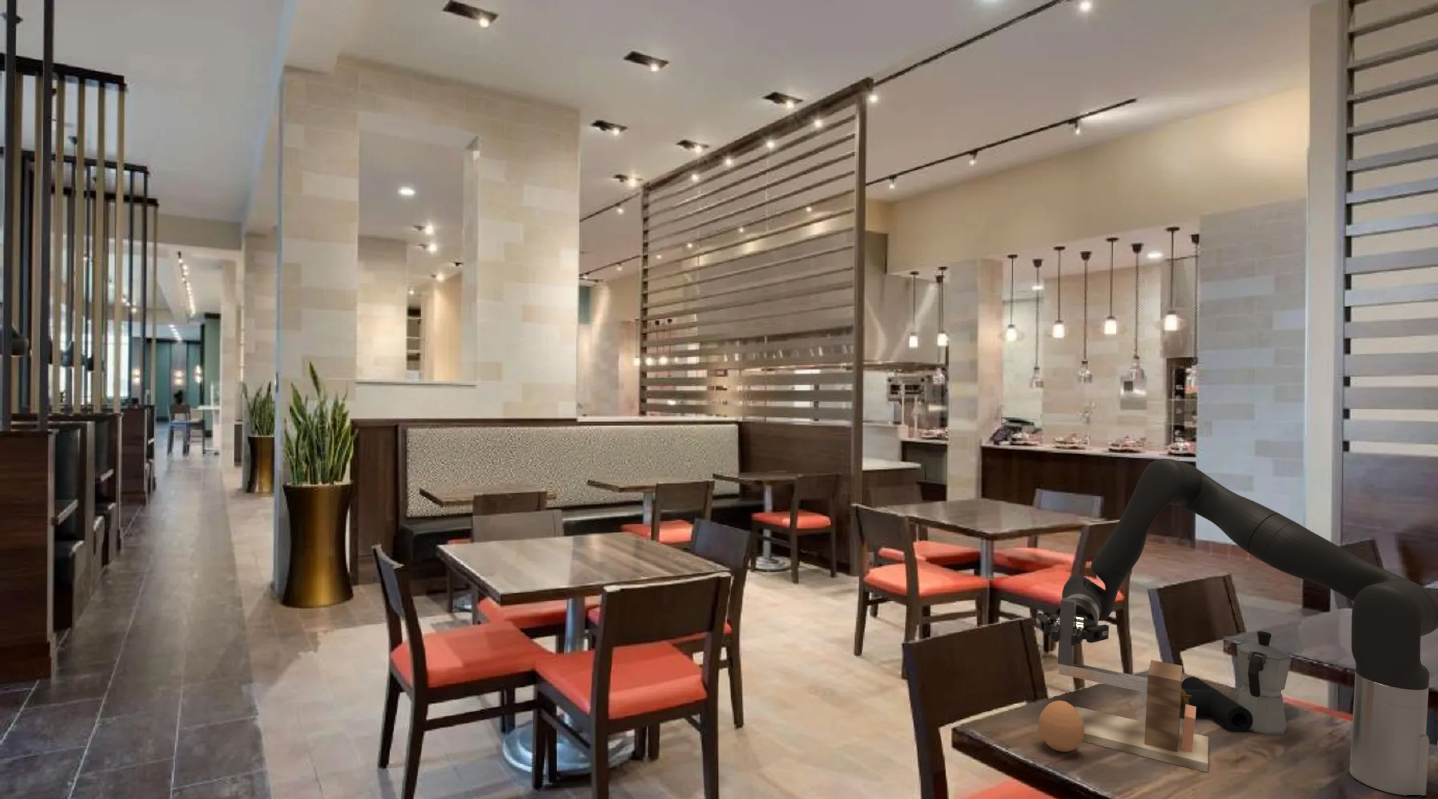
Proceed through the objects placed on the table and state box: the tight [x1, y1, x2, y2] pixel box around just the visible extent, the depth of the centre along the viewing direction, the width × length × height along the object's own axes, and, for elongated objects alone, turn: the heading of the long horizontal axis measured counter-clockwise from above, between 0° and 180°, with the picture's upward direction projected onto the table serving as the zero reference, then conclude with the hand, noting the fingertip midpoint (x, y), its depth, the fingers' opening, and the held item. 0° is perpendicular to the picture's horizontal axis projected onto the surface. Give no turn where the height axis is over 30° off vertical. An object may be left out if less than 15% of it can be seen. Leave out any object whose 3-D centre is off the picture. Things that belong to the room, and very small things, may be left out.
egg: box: [1038, 700, 1084, 753], centre depth 138 cm, size 7×7×8 cm
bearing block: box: [1074, 659, 1209, 773], centre depth 143 cm, size 22×12×14 cm, turn 58°
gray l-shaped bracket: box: [1057, 597, 1148, 694], centre depth 144 cm, size 19×2×14 cm, turn 58°
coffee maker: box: [1236, 630, 1292, 736], centre depth 150 cm, size 15×9×18 cm, turn 135°
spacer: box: [1181, 704, 1197, 752], centre depth 138 cm, size 2×6×6 cm, turn 148°
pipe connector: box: [1180, 676, 1253, 733], centre depth 156 cm, size 12×5×15 cm
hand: (1064, 638), depth 146 cm, fingers closed on gray l-shaped bracket, 2 cm apart
